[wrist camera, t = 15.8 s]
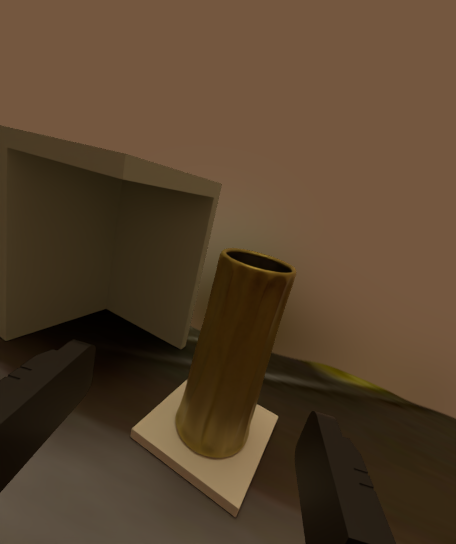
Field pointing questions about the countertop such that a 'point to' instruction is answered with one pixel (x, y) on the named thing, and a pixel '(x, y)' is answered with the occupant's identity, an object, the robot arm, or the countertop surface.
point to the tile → (198, 468)
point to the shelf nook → (98, 237)
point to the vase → (233, 351)
